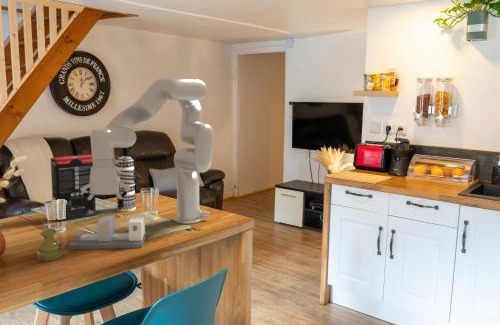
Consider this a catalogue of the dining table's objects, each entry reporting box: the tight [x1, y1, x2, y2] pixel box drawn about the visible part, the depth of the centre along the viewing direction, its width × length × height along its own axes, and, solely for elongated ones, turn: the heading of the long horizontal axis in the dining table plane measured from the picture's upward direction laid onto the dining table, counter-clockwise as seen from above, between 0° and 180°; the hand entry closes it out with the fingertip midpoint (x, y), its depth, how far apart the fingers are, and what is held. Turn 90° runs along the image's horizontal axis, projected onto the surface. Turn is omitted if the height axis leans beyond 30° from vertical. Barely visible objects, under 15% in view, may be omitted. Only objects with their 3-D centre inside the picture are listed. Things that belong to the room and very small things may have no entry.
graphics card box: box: [50, 154, 97, 221], centre depth 186 cm, size 17×7×27 cm, turn 134°
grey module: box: [96, 215, 117, 242], centre depth 155 cm, size 4×9×7 cm, turn 6°
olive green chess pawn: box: [36, 227, 63, 262], centre depth 141 cm, size 7×7×10 cm
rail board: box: [68, 215, 148, 250], centre depth 156 cm, size 25×13×9 cm, turn 95°
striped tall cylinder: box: [116, 155, 137, 212], centre depth 200 cm, size 9×9×25 cm
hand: (106, 209), depth 155 cm, fingers open, 9 cm apart
